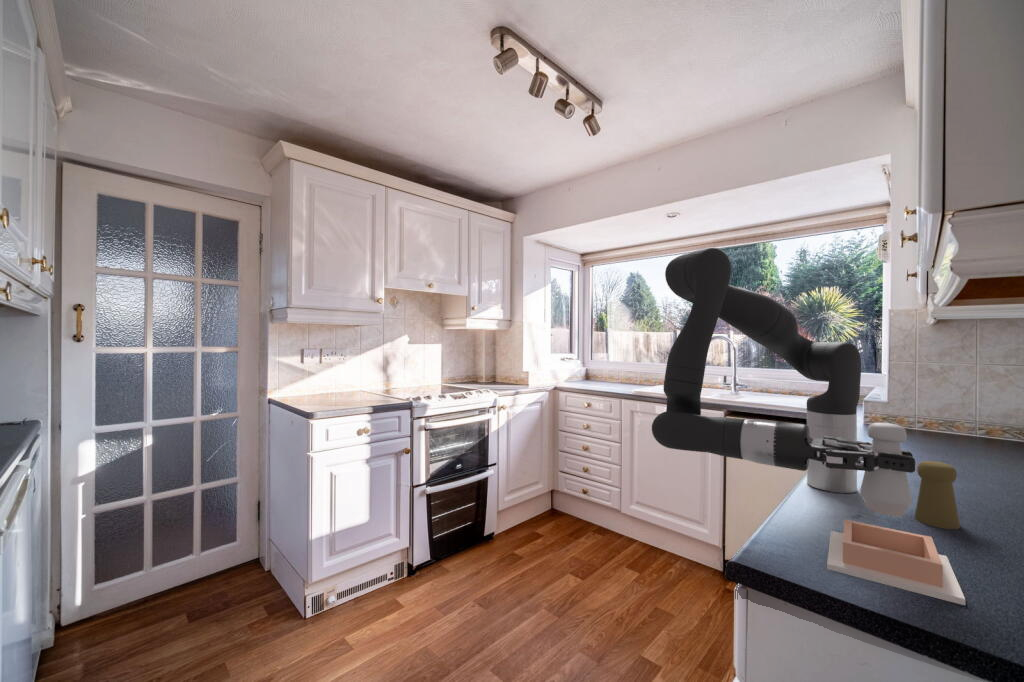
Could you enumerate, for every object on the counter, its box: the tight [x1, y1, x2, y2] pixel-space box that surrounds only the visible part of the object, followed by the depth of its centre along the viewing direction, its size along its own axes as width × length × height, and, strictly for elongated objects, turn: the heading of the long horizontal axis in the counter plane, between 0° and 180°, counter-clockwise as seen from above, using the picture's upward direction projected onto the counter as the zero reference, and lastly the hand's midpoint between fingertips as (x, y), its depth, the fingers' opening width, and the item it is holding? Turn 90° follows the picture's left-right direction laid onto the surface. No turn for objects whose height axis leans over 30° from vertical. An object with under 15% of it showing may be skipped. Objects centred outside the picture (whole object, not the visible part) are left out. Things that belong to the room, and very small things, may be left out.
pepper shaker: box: [914, 460, 961, 530], centre depth 79 cm, size 6×6×11 cm
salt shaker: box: [859, 422, 914, 518], centre depth 64 cm, size 6×6×13 cm
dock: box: [826, 519, 966, 606], centre depth 64 cm, size 14×14×4 cm
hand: (912, 462), depth 62 cm, fingers closed on salt shaker, 3 cm apart
